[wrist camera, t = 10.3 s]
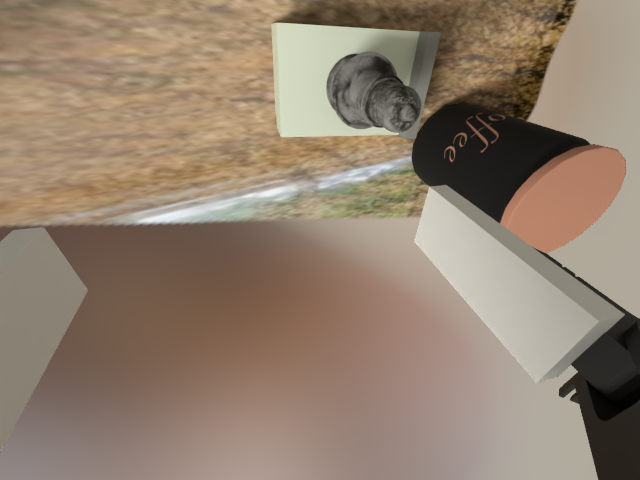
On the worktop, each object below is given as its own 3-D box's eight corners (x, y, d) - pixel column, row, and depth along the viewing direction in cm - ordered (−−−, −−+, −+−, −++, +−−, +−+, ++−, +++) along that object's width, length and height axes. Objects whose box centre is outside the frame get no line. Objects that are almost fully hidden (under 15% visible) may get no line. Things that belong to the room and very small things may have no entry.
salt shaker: (323, 122, 28) (365, 168, 18) (322, 51, 24) (373, 63, 15) (379, 117, 29) (445, 158, 19) (385, 48, 25) (470, 57, 16)
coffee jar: (485, 89, 35) (652, 127, 21) (476, 166, 41) (598, 235, 27) (405, 116, 34) (518, 174, 20) (409, 190, 41) (496, 271, 27)
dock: (276, 124, 32) (282, 142, 26) (271, 24, 26) (278, 21, 21) (389, 123, 34) (415, 138, 29) (406, 32, 29) (441, 32, 24)
